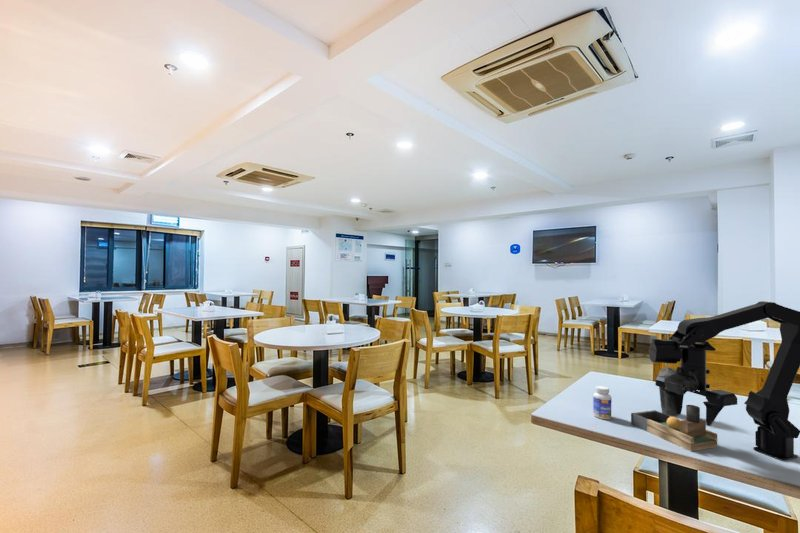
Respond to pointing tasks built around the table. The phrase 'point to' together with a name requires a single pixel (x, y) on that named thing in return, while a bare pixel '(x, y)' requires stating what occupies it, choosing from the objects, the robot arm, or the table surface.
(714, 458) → the table surface
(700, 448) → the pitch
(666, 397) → the beverage cup
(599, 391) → the pill bottle
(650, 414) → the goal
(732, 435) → the table surface
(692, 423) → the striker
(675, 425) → the ball
